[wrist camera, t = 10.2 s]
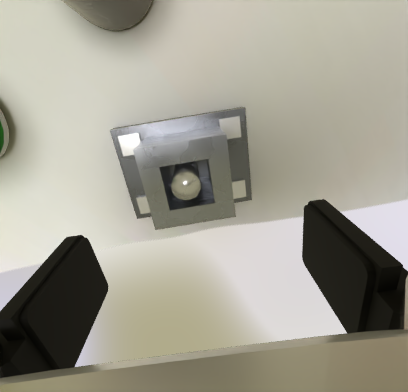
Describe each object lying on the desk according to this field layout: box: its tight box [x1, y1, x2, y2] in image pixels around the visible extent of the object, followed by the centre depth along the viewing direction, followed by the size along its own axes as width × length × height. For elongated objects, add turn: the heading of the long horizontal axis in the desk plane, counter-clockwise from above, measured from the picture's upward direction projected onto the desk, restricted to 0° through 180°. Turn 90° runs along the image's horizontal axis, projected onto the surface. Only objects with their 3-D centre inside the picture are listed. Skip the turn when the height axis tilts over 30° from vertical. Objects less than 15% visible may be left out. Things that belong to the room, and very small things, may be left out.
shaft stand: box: [110, 107, 252, 219], centre depth 20 cm, size 12×9×6 cm
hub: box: [133, 126, 236, 230], centre depth 20 cm, size 7×7×5 cm
